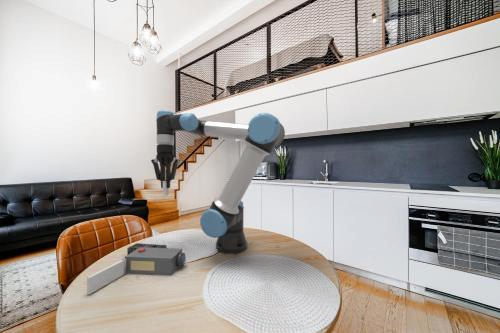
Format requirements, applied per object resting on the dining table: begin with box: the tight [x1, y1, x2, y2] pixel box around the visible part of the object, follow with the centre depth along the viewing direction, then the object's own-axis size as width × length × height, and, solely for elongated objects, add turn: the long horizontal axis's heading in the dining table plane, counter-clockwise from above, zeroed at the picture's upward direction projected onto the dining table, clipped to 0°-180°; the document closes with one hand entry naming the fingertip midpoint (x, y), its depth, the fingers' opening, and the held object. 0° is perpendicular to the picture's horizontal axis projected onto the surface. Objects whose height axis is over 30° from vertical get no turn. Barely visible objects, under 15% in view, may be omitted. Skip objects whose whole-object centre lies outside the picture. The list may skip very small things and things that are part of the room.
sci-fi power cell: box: [126, 242, 168, 256], centre depth 89 cm, size 4×19×10 cm
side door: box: [86, 257, 127, 295], centre depth 68 cm, size 13×2×5 cm, turn 164°
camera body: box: [124, 247, 187, 276], centre depth 78 cm, size 20×9×7 cm, turn 85°
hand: (165, 195), depth 95 cm, fingers closed
